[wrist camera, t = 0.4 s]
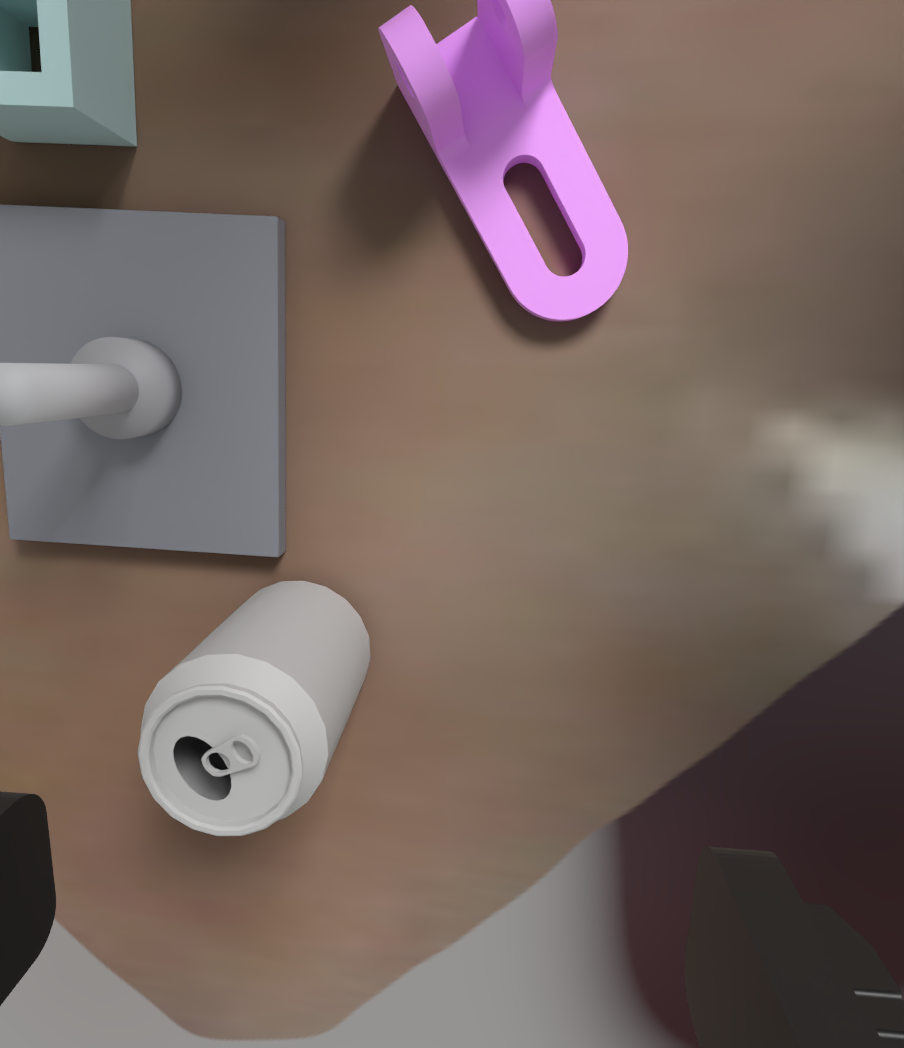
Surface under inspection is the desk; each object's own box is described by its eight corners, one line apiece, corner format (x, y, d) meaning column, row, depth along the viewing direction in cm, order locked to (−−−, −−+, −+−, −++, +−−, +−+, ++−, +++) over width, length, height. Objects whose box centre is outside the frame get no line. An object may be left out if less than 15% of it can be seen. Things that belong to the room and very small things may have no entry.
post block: (-3, 209, 33) (-223, 139, 23) (285, 221, 33) (189, 154, 22) (25, 533, 37) (-156, 596, 27) (285, 551, 36) (202, 622, 26)
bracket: (398, 86, 31) (370, 8, 25) (506, 12, 30) (509, -91, 24) (537, 344, 33) (548, 337, 27) (643, 281, 32) (682, 258, 26)
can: (209, 616, 37) (77, 729, 26) (325, 550, 36) (243, 636, 24) (284, 728, 38) (192, 885, 27) (400, 668, 37) (356, 805, 26)
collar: (0, -5, 31) (-91, -73, 26) (130, -1, 31) (62, -70, 26) (12, 141, 33) (-73, 101, 28) (136, 146, 32) (73, 106, 28)
